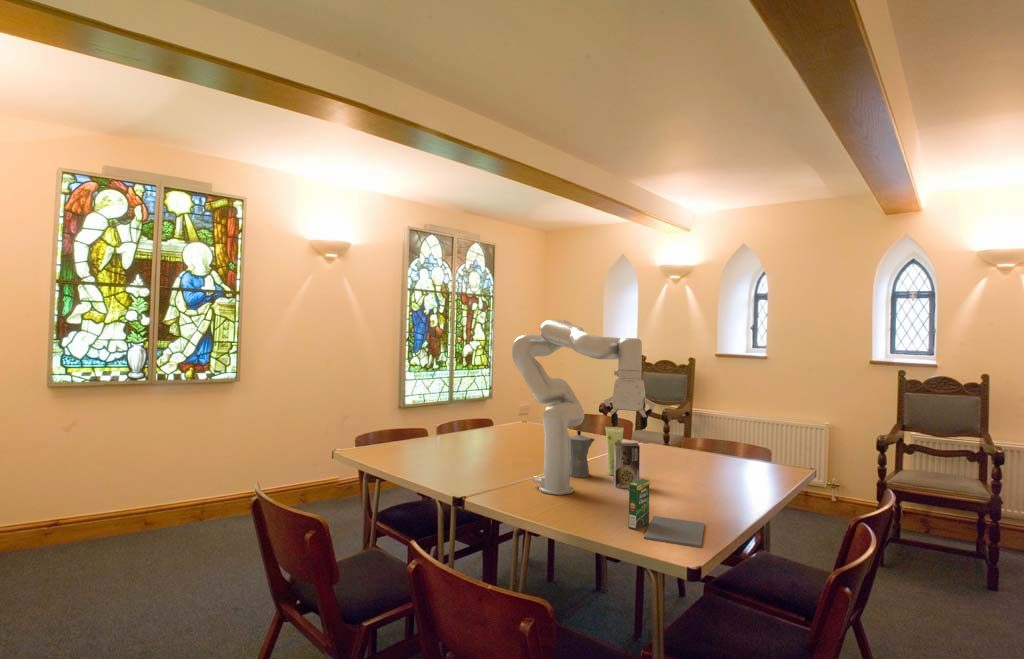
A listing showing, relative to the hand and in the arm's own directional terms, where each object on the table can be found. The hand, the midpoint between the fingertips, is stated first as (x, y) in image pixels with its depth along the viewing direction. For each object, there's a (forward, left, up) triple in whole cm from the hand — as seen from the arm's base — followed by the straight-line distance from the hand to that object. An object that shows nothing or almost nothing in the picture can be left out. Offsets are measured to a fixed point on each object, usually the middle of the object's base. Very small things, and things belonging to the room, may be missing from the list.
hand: (628, 427), depth 180 cm
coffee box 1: (-5, +28, -27) cm, 39 cm away
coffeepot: (-27, +36, -27) cm, 52 cm away
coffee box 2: (+6, -16, -27) cm, 32 cm away
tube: (-13, +44, -27) cm, 53 cm away
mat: (+17, -16, -26) cm, 35 cm away
